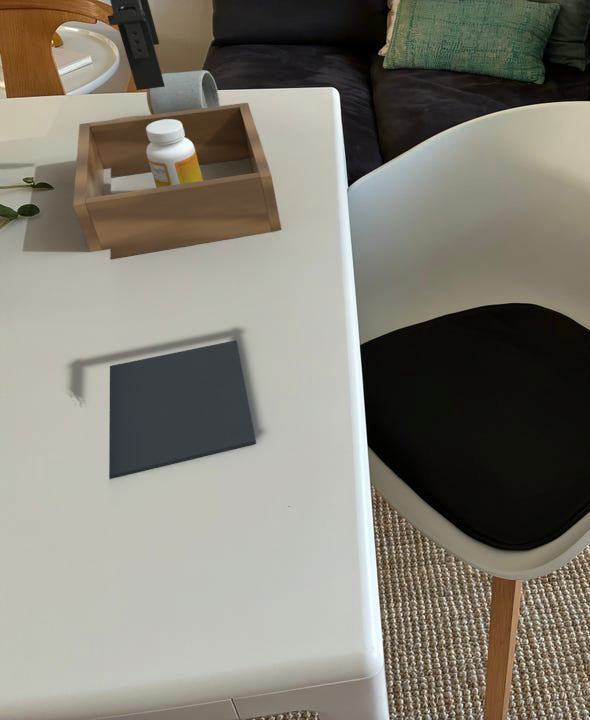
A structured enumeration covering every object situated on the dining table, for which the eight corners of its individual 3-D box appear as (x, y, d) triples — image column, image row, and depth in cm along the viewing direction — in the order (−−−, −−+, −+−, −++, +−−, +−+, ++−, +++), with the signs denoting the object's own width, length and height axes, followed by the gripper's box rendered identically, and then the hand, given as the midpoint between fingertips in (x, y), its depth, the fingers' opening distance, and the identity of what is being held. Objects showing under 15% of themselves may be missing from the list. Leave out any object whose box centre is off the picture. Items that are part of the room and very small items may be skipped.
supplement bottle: (208, 188, 98) (189, 114, 92) (206, 209, 94) (187, 133, 88) (163, 193, 97) (141, 118, 91) (159, 214, 93) (136, 138, 87)
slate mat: (81, 375, 71) (79, 371, 71) (237, 343, 75) (236, 339, 75) (76, 486, 61) (74, 483, 61) (256, 443, 65) (255, 440, 65)
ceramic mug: (168, 114, 115) (154, 62, 110) (224, 114, 115) (212, 62, 110) (147, 147, 107) (130, 93, 102) (206, 147, 107) (193, 93, 102)
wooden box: (97, 175, 100) (79, 123, 96) (257, 152, 106) (247, 102, 101) (94, 262, 85) (72, 205, 81) (281, 230, 91) (271, 175, 86)
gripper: (128, -154, 63) (192, 102, 77) (125, -187, 81) (177, 26, 94) (27, -149, 61) (111, 113, 75) (47, -184, 79) (112, 33, 93)
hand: (148, 65), depth 85 cm, fingers open, 13 cm apart
